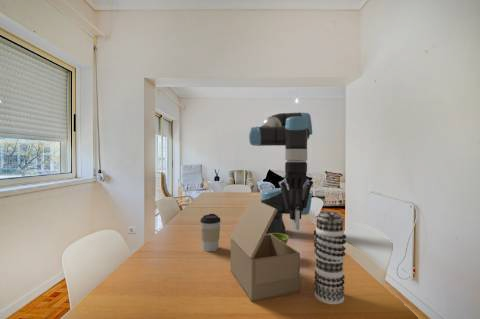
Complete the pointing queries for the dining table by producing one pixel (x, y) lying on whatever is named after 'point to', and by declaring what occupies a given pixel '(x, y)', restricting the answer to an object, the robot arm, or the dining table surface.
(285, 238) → the plant pot
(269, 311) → the dining table surface
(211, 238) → the coffee cup
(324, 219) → the decorative candle
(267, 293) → the carton
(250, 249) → the flap
